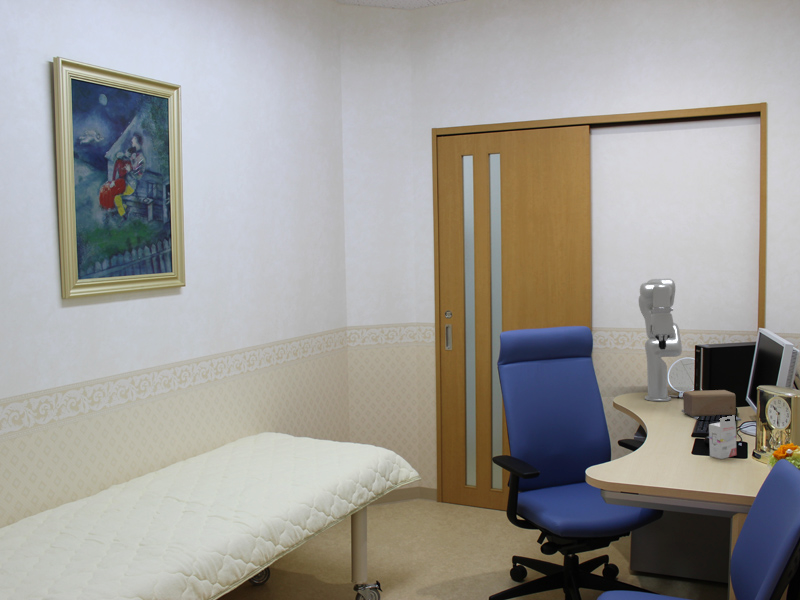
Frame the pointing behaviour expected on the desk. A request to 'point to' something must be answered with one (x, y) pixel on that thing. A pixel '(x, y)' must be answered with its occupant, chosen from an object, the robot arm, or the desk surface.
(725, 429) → the ink cartridge box
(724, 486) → the desk surface
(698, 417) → the mat
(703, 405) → the wooden block
